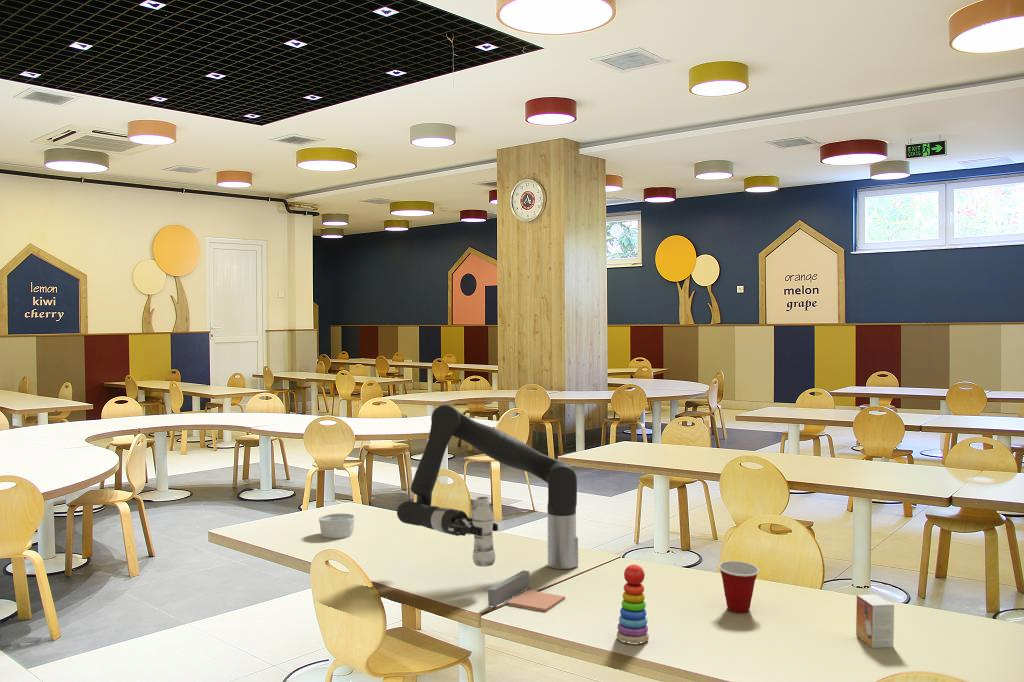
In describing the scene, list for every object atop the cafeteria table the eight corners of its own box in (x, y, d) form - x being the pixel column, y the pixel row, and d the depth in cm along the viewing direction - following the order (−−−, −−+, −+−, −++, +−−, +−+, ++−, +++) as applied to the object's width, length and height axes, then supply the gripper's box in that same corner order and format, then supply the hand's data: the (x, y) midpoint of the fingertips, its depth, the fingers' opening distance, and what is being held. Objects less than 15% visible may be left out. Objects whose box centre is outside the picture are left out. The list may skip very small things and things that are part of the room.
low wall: (523, 586, 252) (523, 570, 251) (529, 587, 251) (529, 571, 250) (488, 606, 234) (488, 589, 234) (494, 608, 233) (494, 590, 233)
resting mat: (528, 592, 246) (528, 589, 246) (565, 599, 240) (565, 596, 240) (507, 604, 236) (507, 602, 236) (545, 611, 230) (545, 609, 230)
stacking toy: (627, 647, 204) (627, 571, 204) (610, 636, 212) (610, 562, 211) (655, 642, 207) (654, 567, 207) (637, 631, 215) (637, 558, 214)
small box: (855, 636, 211) (855, 594, 210) (877, 635, 211) (877, 593, 211) (872, 648, 203) (872, 605, 202) (894, 647, 203) (894, 604, 203)
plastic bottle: (492, 569, 243) (491, 500, 242) (470, 568, 244) (468, 500, 243) (497, 563, 249) (496, 495, 248) (475, 562, 250) (474, 495, 250)
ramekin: (326, 530, 322) (326, 512, 322) (359, 531, 320) (359, 513, 320) (313, 539, 309) (313, 520, 309) (348, 540, 307) (348, 521, 307)
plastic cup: (737, 619, 223) (737, 574, 223) (710, 607, 233) (710, 564, 232) (768, 612, 228) (768, 568, 228) (740, 600, 238) (740, 558, 237)
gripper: (431, 513, 250) (471, 521, 239) (465, 504, 261) (505, 512, 250) (432, 538, 251) (472, 548, 239) (466, 528, 261) (506, 537, 250)
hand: (489, 529), depth 245 cm, fingers closed on plastic bottle, 6 cm apart
